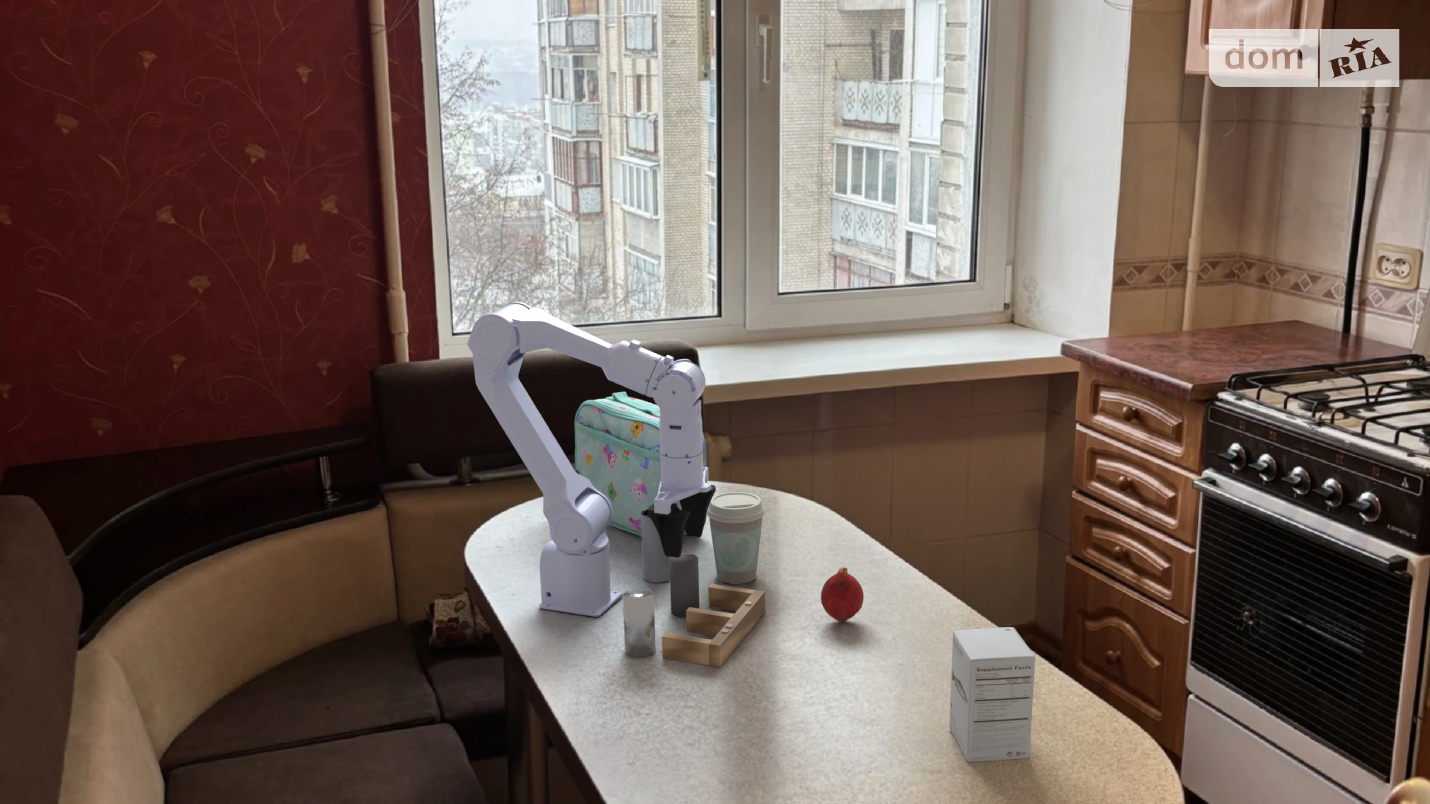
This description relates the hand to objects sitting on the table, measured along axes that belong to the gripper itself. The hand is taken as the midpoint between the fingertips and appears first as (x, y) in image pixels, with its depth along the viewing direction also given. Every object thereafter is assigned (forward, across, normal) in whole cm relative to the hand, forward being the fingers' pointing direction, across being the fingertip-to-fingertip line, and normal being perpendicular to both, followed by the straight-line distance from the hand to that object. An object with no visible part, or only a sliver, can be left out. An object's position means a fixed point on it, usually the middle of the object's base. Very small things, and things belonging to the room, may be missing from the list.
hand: (683, 545), depth 175 cm
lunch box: (+10, +29, +20) cm, 37 cm away
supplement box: (+10, -21, -46) cm, 51 cm away
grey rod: (+10, -13, +1) cm, 16 cm away
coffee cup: (+10, +14, -2) cm, 17 cm away
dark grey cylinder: (+10, 0, 0) cm, 10 cm away
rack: (+10, -5, -6) cm, 13 cm away
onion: (+10, +4, -22) cm, 24 cm away
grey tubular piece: (+10, +10, +8) cm, 17 cm away
